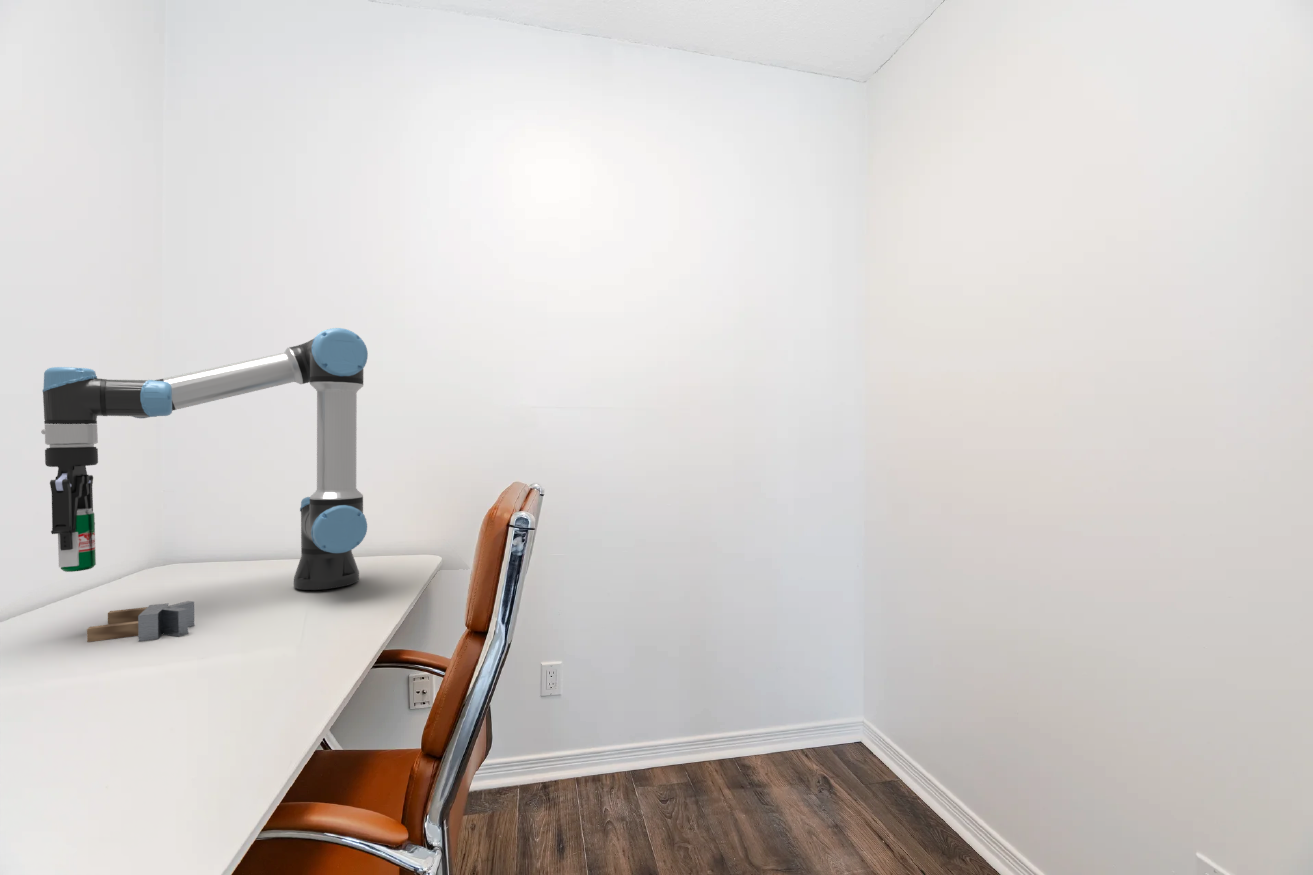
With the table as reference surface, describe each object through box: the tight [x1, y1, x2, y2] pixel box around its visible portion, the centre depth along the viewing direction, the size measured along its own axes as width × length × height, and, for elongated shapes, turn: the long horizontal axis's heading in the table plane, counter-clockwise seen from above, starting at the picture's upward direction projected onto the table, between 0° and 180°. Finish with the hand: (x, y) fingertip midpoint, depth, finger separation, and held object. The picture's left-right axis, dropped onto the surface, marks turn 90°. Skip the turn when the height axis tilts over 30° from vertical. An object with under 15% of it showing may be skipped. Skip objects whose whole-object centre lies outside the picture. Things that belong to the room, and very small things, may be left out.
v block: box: [137, 600, 195, 642], centre depth 121 cm, size 8×8×5 cm
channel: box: [86, 606, 148, 643], centre depth 124 cm, size 8×13×2 cm, turn 28°
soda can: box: [60, 508, 97, 573], centre depth 120 cm, size 5×5×12 cm
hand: (74, 563), depth 120 cm, fingers closed on soda can, 5 cm apart
